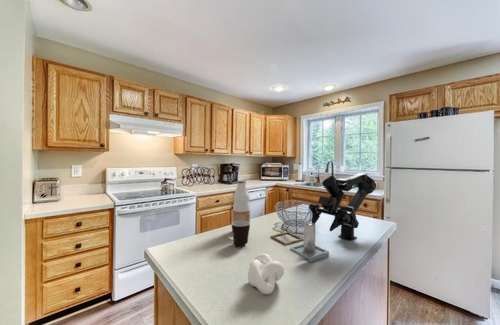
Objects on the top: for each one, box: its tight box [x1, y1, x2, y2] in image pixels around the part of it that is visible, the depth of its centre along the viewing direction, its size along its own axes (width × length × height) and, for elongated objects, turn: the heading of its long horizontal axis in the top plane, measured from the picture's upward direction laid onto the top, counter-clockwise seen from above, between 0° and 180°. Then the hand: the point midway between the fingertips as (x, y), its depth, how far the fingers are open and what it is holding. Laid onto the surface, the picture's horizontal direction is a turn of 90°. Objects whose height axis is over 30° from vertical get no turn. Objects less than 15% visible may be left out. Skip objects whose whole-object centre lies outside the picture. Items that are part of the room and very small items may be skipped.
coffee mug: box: [230, 221, 251, 248], centre depth 103 cm, size 12×9×10 cm
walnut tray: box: [270, 231, 304, 246], centre depth 106 cm, size 11×11×2 cm
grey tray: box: [289, 243, 330, 264], centre depth 92 cm, size 11×11×2 cm
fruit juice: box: [232, 179, 251, 231], centre depth 119 cm, size 9×9×28 cm
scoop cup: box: [303, 222, 316, 255], centre depth 92 cm, size 5×5×12 cm
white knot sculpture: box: [247, 253, 285, 295], centre depth 69 cm, size 11×12×9 cm
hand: (320, 228), depth 97 cm, fingers open, 9 cm apart
